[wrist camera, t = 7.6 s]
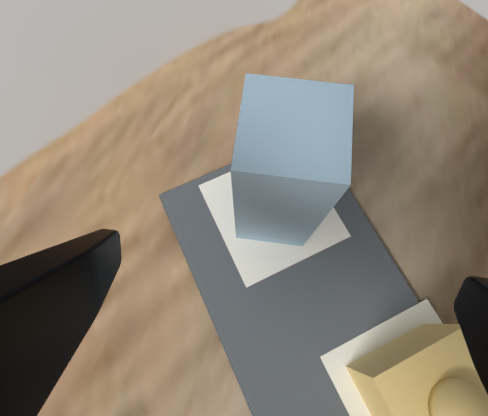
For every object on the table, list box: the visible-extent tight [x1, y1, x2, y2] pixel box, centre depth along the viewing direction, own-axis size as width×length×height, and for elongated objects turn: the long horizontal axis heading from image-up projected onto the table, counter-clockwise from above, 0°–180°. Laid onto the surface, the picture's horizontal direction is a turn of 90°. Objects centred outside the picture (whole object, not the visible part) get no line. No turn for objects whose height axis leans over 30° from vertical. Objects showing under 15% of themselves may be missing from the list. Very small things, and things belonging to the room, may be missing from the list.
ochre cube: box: [346, 324, 488, 416], centre depth 15 cm, size 5×5×5 cm
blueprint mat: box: [159, 164, 443, 416], centre depth 19 cm, size 20×12×1 cm, turn 26°
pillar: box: [231, 73, 354, 246], centre depth 16 cm, size 4×4×10 cm
